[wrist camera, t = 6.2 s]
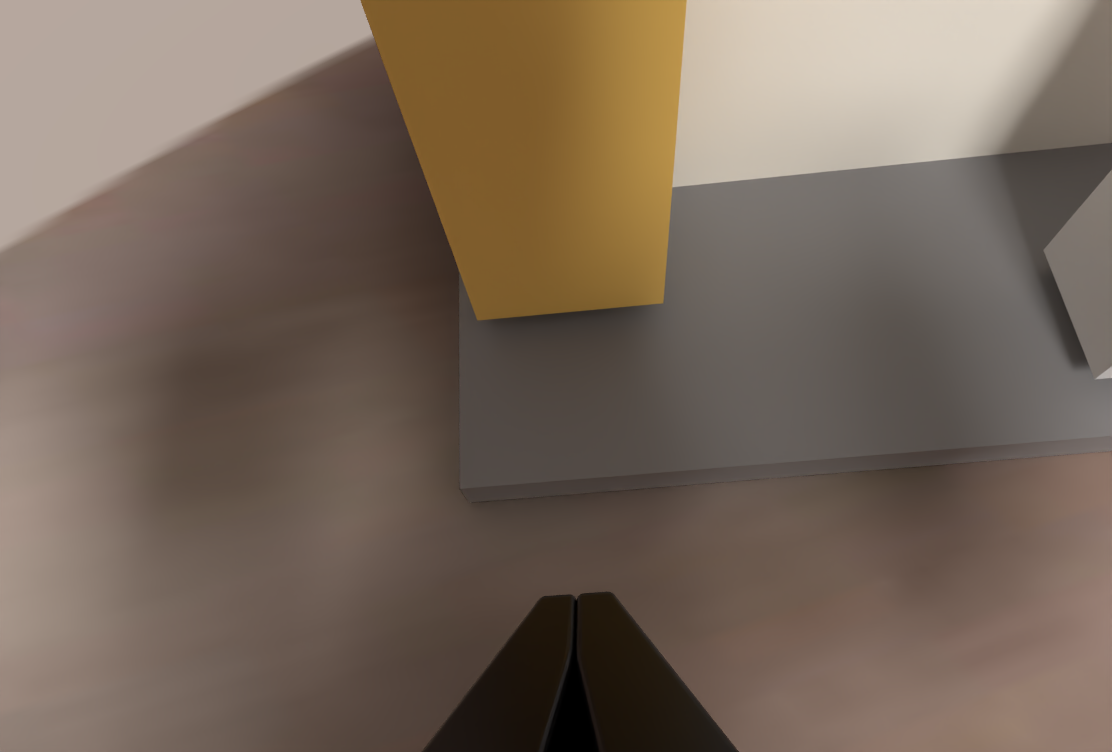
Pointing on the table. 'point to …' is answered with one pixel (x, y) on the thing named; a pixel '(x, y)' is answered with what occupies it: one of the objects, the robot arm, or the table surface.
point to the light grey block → (1088, 275)
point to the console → (829, 261)
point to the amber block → (543, 142)
